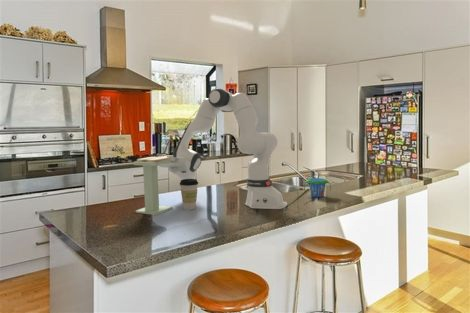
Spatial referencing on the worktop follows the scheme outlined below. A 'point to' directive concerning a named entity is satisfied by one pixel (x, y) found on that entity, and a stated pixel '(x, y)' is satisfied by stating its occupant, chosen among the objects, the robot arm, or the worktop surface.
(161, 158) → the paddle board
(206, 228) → the worktop surface
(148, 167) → the tall stand
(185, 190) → the coffee cup
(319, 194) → the snack cup
